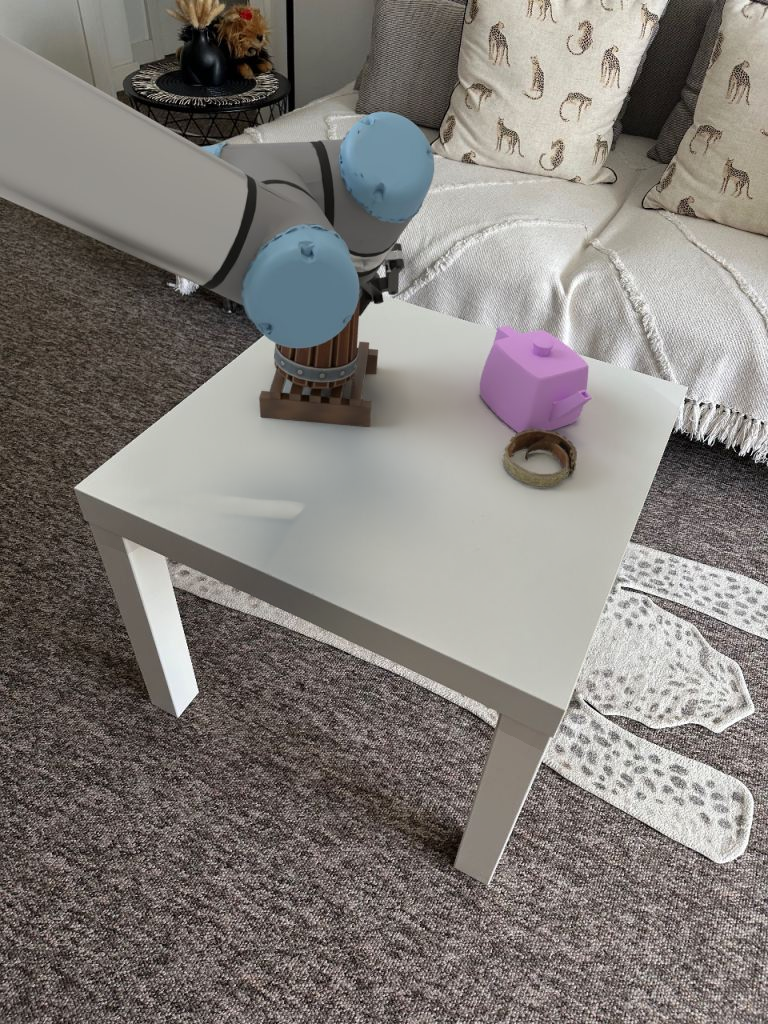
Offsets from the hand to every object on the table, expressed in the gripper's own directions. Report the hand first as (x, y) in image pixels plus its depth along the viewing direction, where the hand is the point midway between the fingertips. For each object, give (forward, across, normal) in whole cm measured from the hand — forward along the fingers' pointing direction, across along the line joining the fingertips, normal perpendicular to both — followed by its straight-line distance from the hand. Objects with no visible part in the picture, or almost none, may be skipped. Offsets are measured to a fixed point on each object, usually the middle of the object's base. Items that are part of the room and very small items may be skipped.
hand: (316, 309), depth 90 cm
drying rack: (+5, 0, -10) cm, 11 cm away
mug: (+2, 0, -6) cm, 7 cm away
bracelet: (-9, +22, -24) cm, 34 cm away
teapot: (-1, +26, -16) cm, 31 cm away
